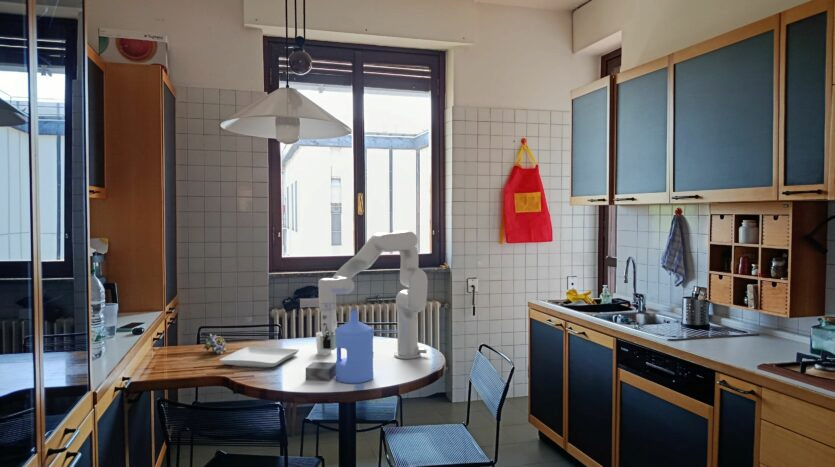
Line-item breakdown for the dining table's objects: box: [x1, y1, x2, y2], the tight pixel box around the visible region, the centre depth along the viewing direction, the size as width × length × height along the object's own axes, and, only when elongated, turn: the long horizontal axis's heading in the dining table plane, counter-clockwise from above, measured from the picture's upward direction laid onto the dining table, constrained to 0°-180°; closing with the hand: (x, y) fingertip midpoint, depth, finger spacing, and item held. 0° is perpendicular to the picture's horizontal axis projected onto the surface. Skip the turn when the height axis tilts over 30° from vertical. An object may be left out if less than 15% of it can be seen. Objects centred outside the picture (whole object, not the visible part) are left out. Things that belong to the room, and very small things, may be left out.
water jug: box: [334, 310, 374, 384], centre depth 243 cm, size 16×16×28 cm
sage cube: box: [320, 332, 337, 351], centre depth 261 cm, size 6×6×6 cm
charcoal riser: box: [305, 361, 336, 382], centre depth 245 cm, size 10×10×5 cm
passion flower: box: [202, 333, 227, 355], centre depth 286 cm, size 11×11×12 cm
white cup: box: [315, 331, 332, 356], centre depth 286 cm, size 8×8×10 cm
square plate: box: [219, 346, 300, 369], centre depth 272 cm, size 27×27×4 cm
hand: (329, 346), depth 261 cm, fingers closed on sage cube, 6 cm apart
